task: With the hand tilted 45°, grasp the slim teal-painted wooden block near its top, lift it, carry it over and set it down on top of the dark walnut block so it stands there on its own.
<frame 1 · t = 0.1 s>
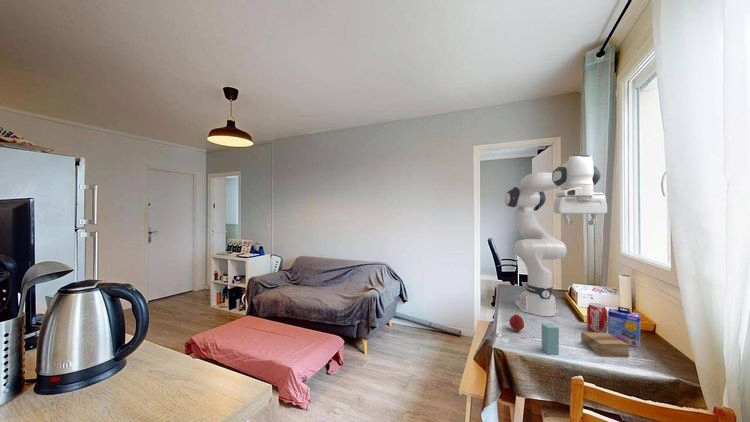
hand: (580, 224, 116), 48 cm above the table, tool pointing down, fingers open, 8 cm apart
ink cartridge box: (623, 342, 113), on the table
teal block: (549, 352, 104), on the table
onion: (516, 331, 122), on the table
soda can: (596, 332, 122), on the table
walnut block: (603, 351, 106), on the table
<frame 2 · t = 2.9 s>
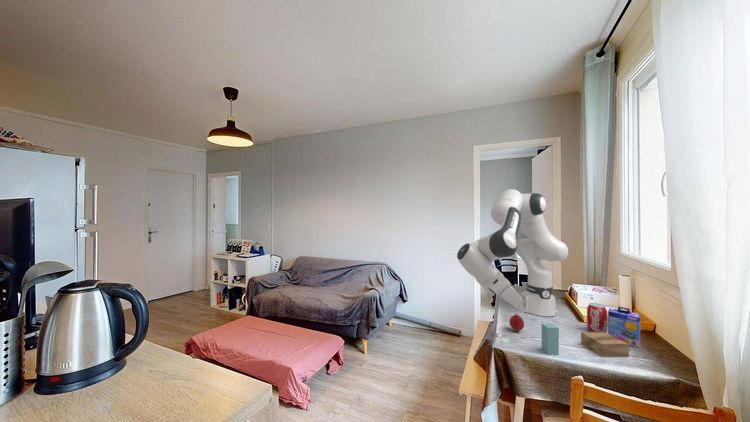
hand: (517, 306, 104), 17 cm above the table, tool tilted 45°, fingers open, 8 cm apart
nothing on the table moved.
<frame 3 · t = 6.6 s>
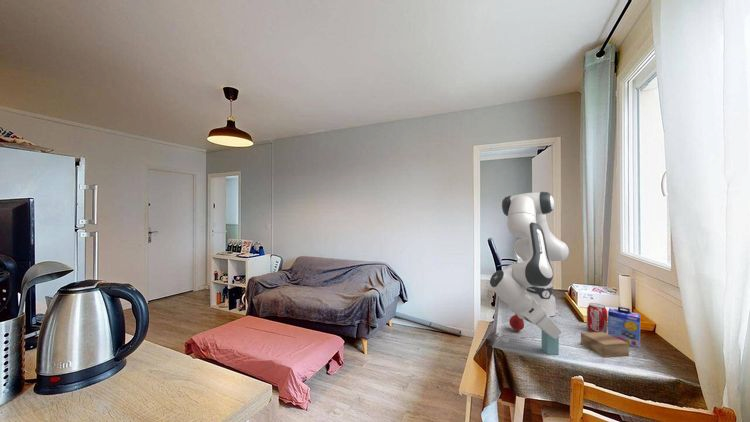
hand: (551, 333, 104), 7 cm above the table, tool tilted 45°, fingers closed on teal block, 4 cm apart
teal block: (549, 352, 104), on the table, touching gripper
everything else where it was.
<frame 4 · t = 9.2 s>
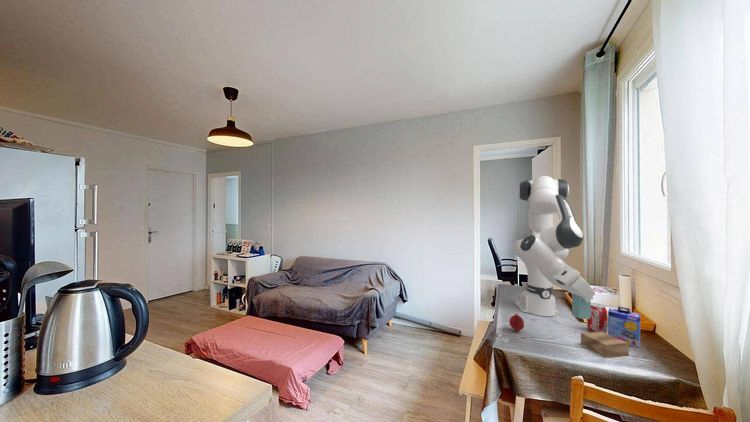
hand: (583, 298, 104), 20 cm above the table, tool tilted 45°, fingers closed on teal block, 4 cm apart
teal block: (580, 316, 104), point 14 cm above the table, touching gripper
everything else where it was.
when the fingers open (13 cm above the table, at t = 12.0 s): teal block drops 2 cm, point 5 cm above the table.
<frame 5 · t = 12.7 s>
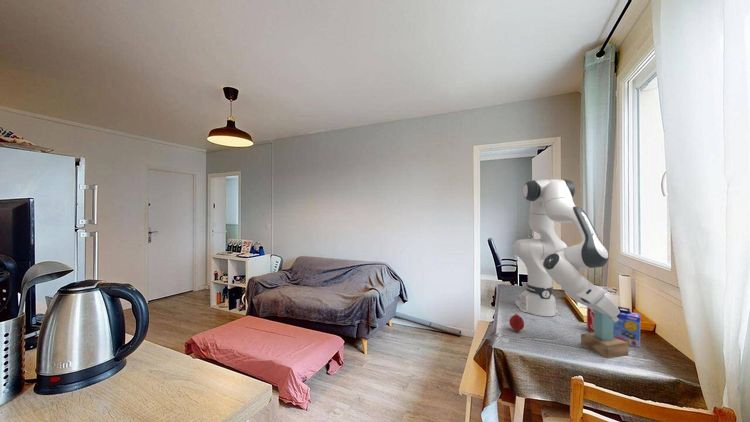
hand: (605, 315, 106), 13 cm above the table, tool tilted 45°, fingers open, 8 cm apart
teal block: (603, 337, 106), point 5 cm above the table
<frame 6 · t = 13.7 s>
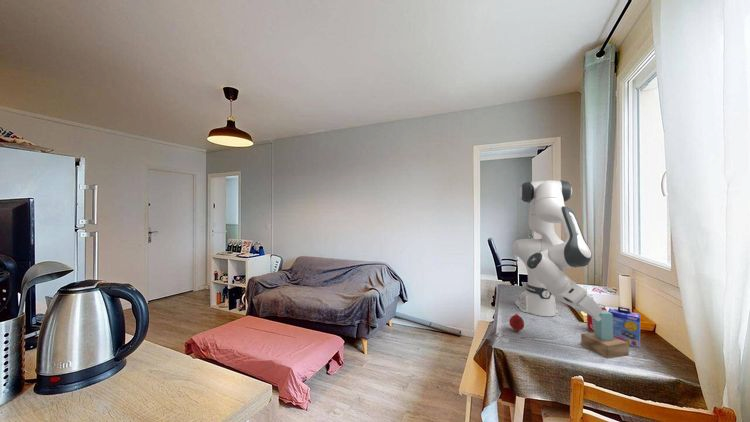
hand: (589, 314, 105), 14 cm above the table, tool tilted 45°, fingers open, 8 cm apart
teal block: (603, 337, 106), point 5 cm above the table, touching walnut block
walnut block: (604, 351, 105), on the table, touching teal block
everything else where it was.
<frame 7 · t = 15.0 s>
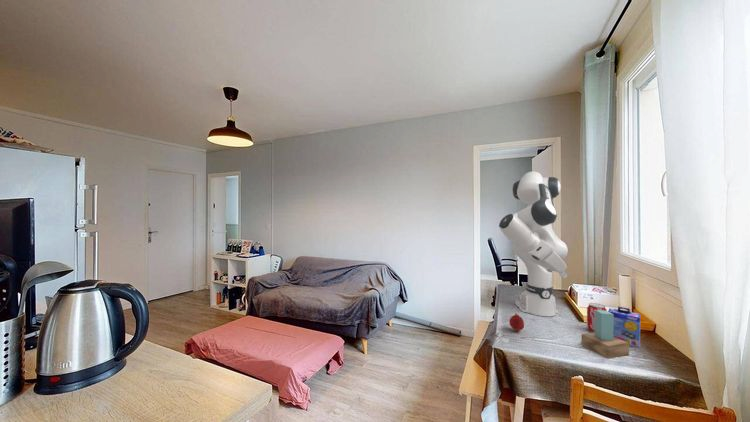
hand: (557, 273, 109), 29 cm above the table, tool tilted 45°, fingers open, 8 cm apart
nothing on the table moved.
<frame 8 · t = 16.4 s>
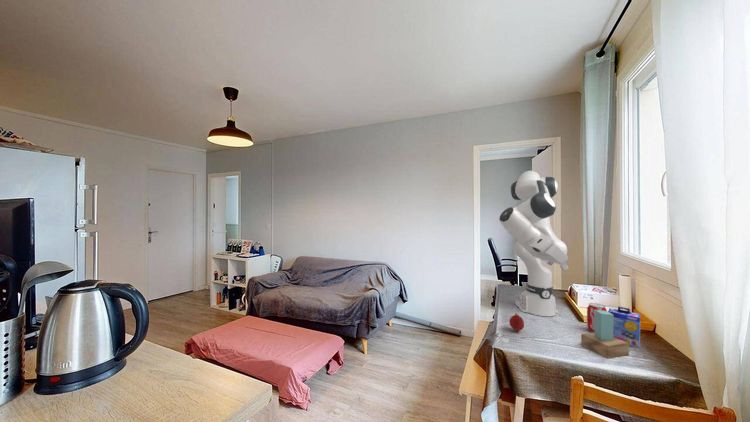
hand: (558, 266, 110), 31 cm above the table, tool tilted 45°, fingers open, 8 cm apart
nothing on the table moved.
at the end: teal block inside the target area on the walnut block (0.1 cm from its centre), point 5.1 cm above the walnut block's base; teal block tilted 2°; the gripper is holding nothing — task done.
